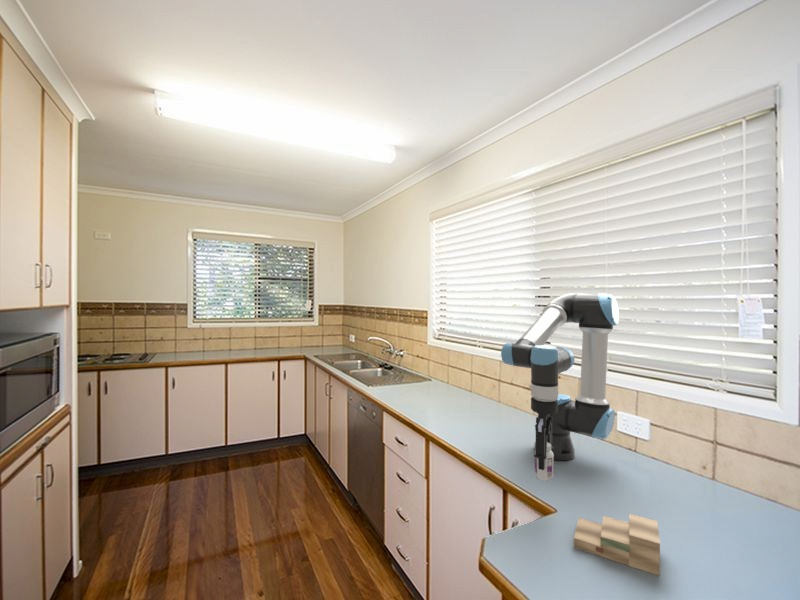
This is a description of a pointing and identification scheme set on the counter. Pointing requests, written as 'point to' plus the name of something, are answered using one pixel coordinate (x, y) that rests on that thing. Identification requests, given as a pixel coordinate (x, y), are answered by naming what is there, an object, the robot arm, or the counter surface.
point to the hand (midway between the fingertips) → (544, 474)
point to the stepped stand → (622, 541)
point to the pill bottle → (548, 462)
